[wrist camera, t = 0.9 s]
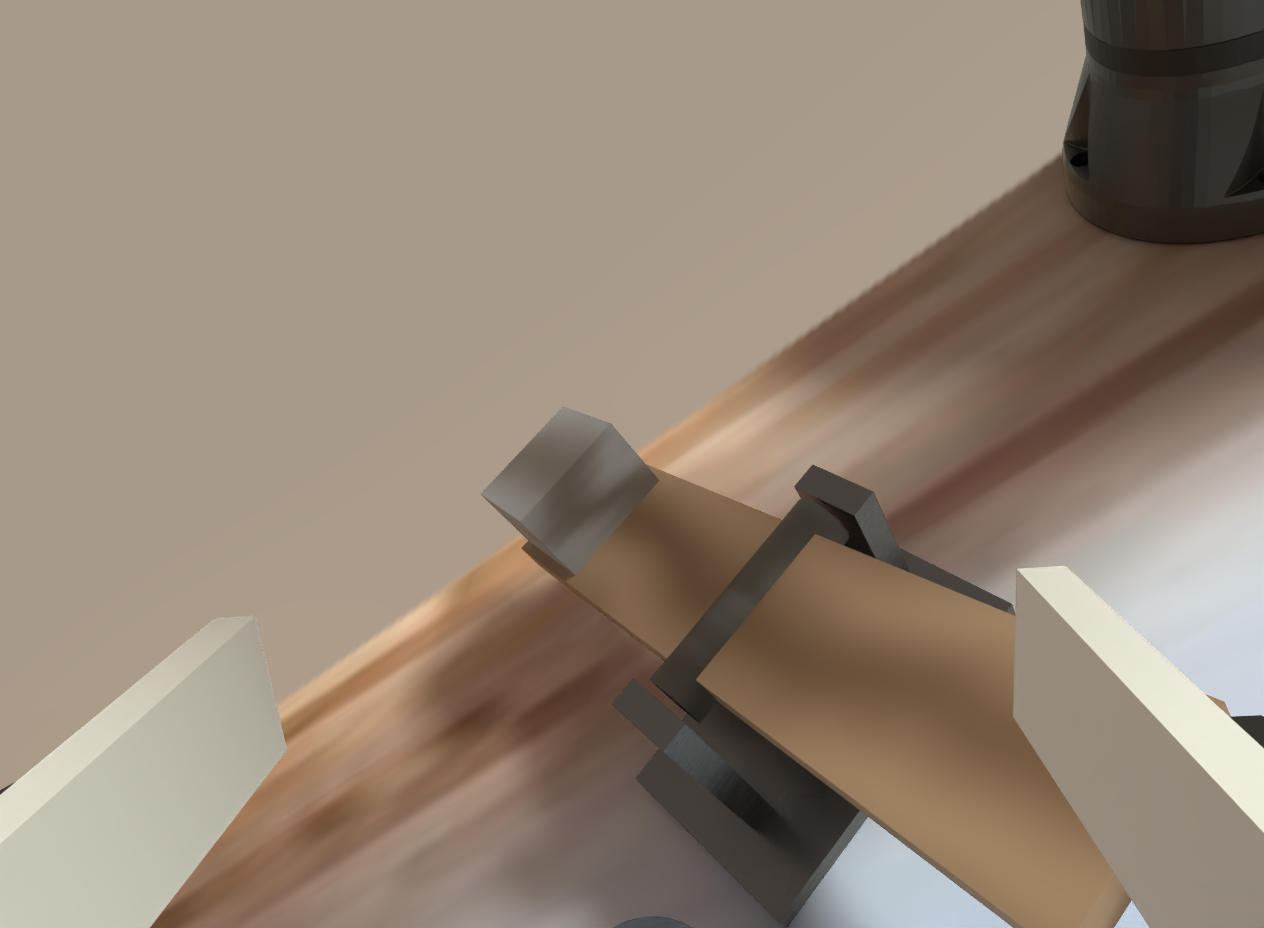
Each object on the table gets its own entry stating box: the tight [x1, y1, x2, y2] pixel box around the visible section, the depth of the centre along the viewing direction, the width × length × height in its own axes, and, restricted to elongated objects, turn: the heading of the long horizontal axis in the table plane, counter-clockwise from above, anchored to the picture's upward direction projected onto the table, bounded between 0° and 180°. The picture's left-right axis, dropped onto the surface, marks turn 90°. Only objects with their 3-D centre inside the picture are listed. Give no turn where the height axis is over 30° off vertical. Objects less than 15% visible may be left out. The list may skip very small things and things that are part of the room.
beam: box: [481, 407, 1231, 928], centre depth 31 cm, size 9×30×6 cm, turn 43°
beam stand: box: [612, 465, 1016, 927], centre depth 35 cm, size 16×9×10 cm, turn 133°
